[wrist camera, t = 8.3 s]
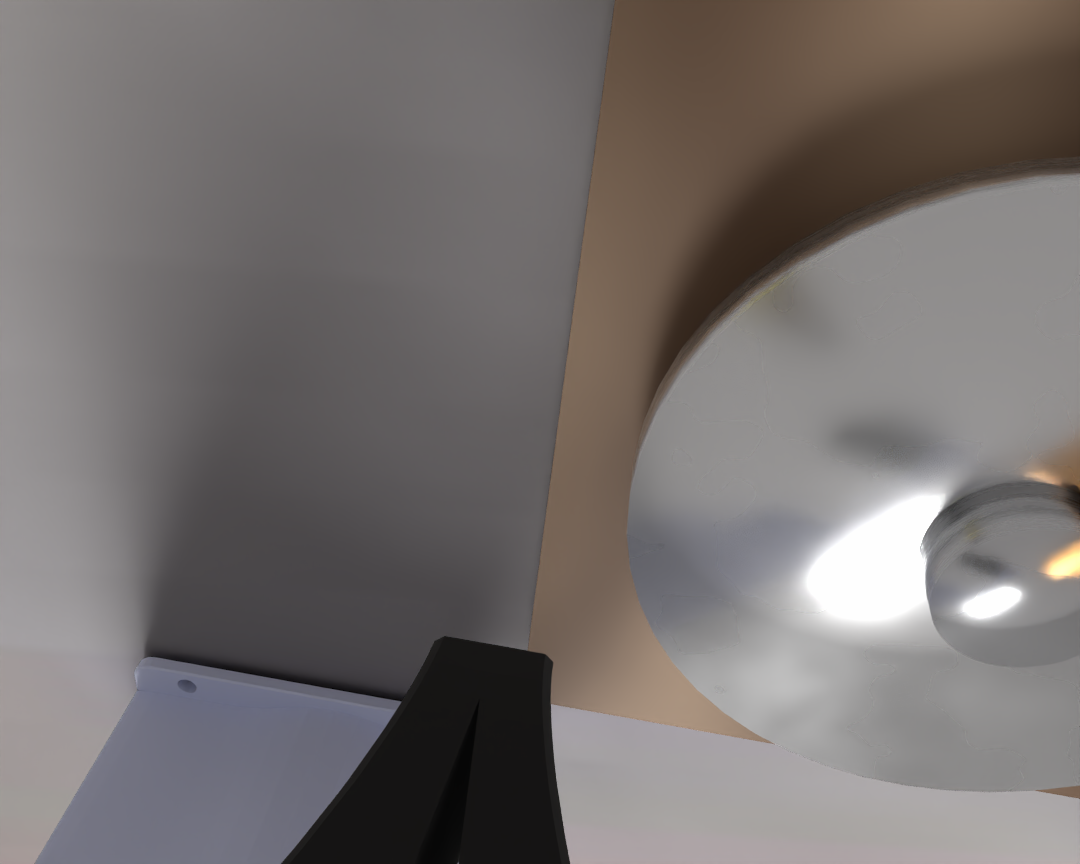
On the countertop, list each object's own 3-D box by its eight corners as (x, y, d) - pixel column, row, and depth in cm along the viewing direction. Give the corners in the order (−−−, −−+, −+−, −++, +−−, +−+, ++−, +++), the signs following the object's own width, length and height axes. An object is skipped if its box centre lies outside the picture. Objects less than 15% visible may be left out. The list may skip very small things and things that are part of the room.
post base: (530, 651, 25) (491, 850, 21) (633, -101, 15) (600, -28, 11) (1179, 766, 25) (1283, 998, 20) (1732, 44, 15) (2181, 188, 10)
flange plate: (577, 216, 16) (540, 352, 12) (1612, 87, 13) (1937, 220, 9) (672, 752, 23) (665, 933, 19) (1353, 750, 20) (1485, 962, 16)
